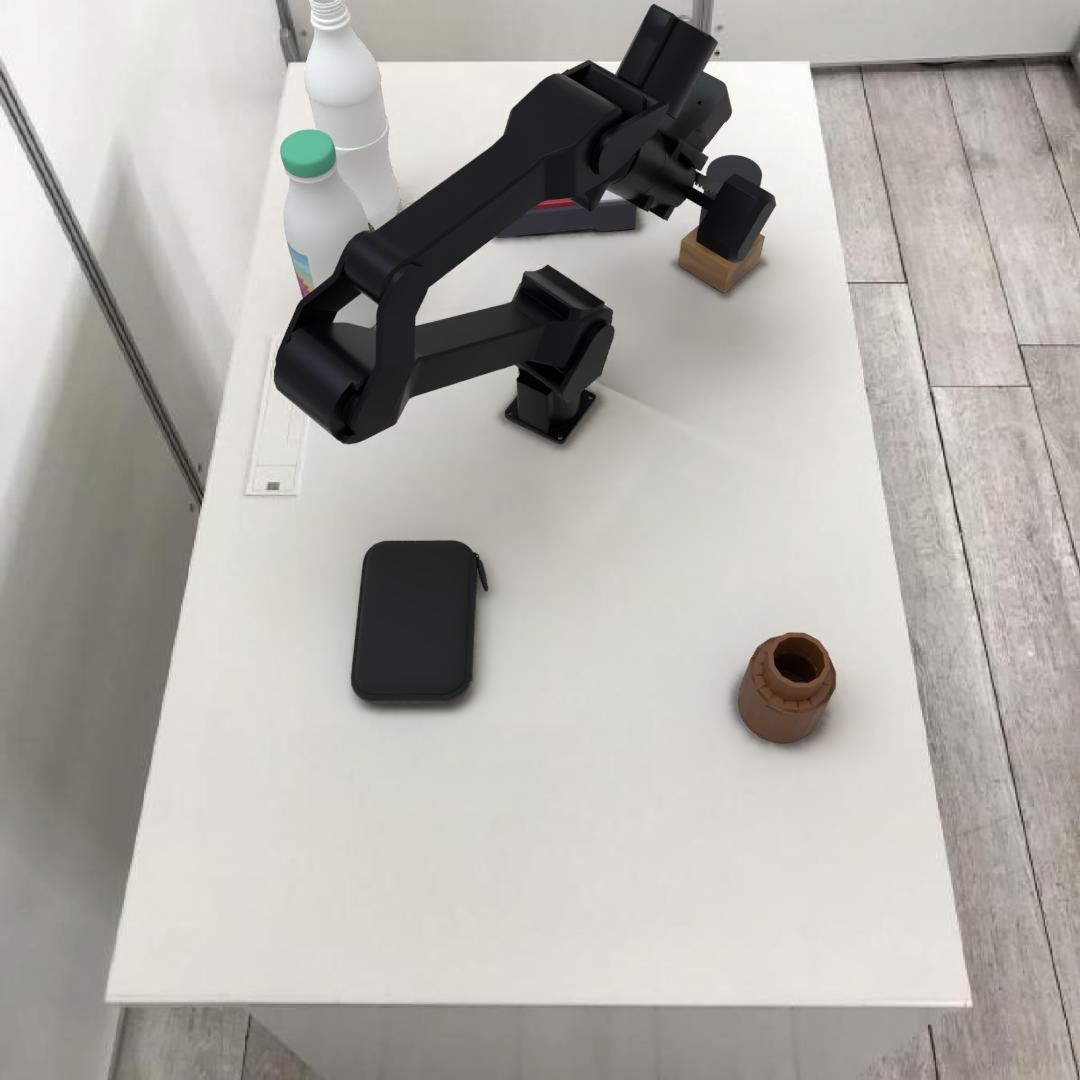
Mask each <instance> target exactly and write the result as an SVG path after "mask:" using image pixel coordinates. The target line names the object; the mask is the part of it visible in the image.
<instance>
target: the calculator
mask: <svg viewBox="0 0 1080 1080" xmlns="http://www.w3.org/2000/svg"><path fill="white" fill-rule="evenodd" d="M490 147H491V146H489V147H488V148H490ZM636 227H637V206H635V205H634V204H632V203H630V202H629V201H627V200H625V199H624V198H622V197H620V196H618V195H616V194H614V193H612V192H609V191H607V190H606V191H605V193H604V195H603V196H602V198H601V200H600V202H599V204H598V206H597V208H596V209H595V211H594V212H589V211H587V210H586V209H584V208H582V207H581V206H579V205H578V204H576V203H574V202H573V201H571V200H570V199H560V200H551V201H544V202H542V203H540V204H538V205H537V206H535V207H533V208H532V209H531V210H529V211H528V212H527V213H525V214H524V215H523V216H521V217H520V218H519V219H518V220H516V221H515V222H514V223H512V224H511V225H510V226H508V227H507V228H506V229H505V230H503V231H502V232H501V233H499V234H498V235H497V236H495V238H505V237H516V236H527V235H537V234H547V233H557V232H558V233H559V232H568V231H578V230H589V229H594V230H596V231H599V232H601V233H602V232H611V231H622V230H623V231H624V230H632V229H635V228H636Z"/></svg>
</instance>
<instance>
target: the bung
mask: <svg viewBox="0 0 1080 1080" xmlns="http://www.w3.org/2000/svg"><path fill="white" fill-rule="evenodd" d="M734 173H736V174H738V175H739V176H741V177H743V178H745V179H747V180H748V181H750V182H752V183H754V184H755V185H757V186H759V187H761V185H762V180H763V171H762V169H761V167H760V165H759V164H758V163H757V162H756V161H755V160H753V159H751V158H749V157H746V156H744V155H739V154H725V155H722V156H718V157H717V158H715V159H713V160H712V161H711V162H710V163H709V164H708V165H707V168H706V173H705V176H706V177H708V178H710V179H711V180H713V181H715V182H717V183H718V184H720V185H723V184H724V182H725V181H726V180H727V179H728V178H729V177H730V176H732V175H733V174H734ZM709 192H710V191H709ZM709 192H707V191H706V189H705V190H703V191H702V193H704V194H706V195H707V196H709V197H711V198H712V199H714V200H715V198H716V196H717V195H716V196H714V195H713V193H714V192H713V193H712V194H710V193H709ZM707 212H708V211H707V210H706V209H704V208H702V207H701V206H700V213H699V221H698V225H699V226H700V224H701V222H702V221H703V219H704V217H705V215H706V214H707Z"/></svg>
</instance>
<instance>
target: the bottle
mask: <svg viewBox="0 0 1080 1080" xmlns="http://www.w3.org/2000/svg"><path fill="white" fill-rule="evenodd" d="M836 688H837V671H836V669H835V665H834V663H833V661H832V659H831V657H830V654H829V652H828V650H827V649H826V648H825V646H824V645H823V643H822V642H821V640H819V639H817V638H815V637H814V636H812V635H810V634H808V633H806V632H797V631H796V632H795V631H794V632H793V631H792V632H791V631H790V632H789V631H788V632H786V633H783V634H782V635H781V634H780V635H778V636H773V637H769V638H767V639H766V640H765V641H764V642H762V643H760V644H759V645H758V646H757V647H756V648H755V650H754V652H753V654H752V655H751V657H750V659H749V661H748V664H747V667H746V670H745V673H744V675H743V679H742V680H741V684H740V687H739V689H738V697H737V705H738V711H739V714H740V717H741V719H742V721H743V722H744V724H745V725H746V727H748V729H749V730H750V731H751V732H753V733H754V734H755V735H757V736H758V737H760V738H762V739H764V740H765V741H769V742H772V743H778V744H789V743H793V742H796V741H799V740H801V739H804V738H805V737H806V736H808V735H809V734H810V733H811V732H812V731H813V730H814V729H815V728H816V726H817V724H818V722H819V721H820V718H821V716H822V714H823V713H824V711H825V709H826V707H827V706H828V704H829V703H830V700H831V698H832V696H833V694H834V692H835V691H836Z"/></svg>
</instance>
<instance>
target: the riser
mask: <svg viewBox="0 0 1080 1080" xmlns="http://www.w3.org/2000/svg"><path fill="white" fill-rule="evenodd" d="M698 228H699V224H698V225H697V226H695V228H693V229H692V230H690V232H689V233H687V234H686V235H685V236H684V237H683V238H681V240H680V246H679V255H678V263H677V266H678V267H680V268H682V269H683V270H685V271H687V272H688V273H690V274H691V275H693V276H695V277H696V278H698V279H700V280H701V281H703V282H705V283H706V284H708V285H709V286H711V287H713V288H714V289H716V290H717V291H719V292H721V293H722V294H726V293H727V292H728V291H729V290H730V289H731V288H732V287H733V286H734V285H735V284H737V283H738V282H739V281H740V280H741V279H742V278H743V277H745V276H746V275H747V274H748V273H749V272H750V271H751V270H752V269H754V268H755V267H756V266H757V265H758V264H759V263H760V262H761V257H762V254H763V253H762V252H763V247H764V243H765V239H766V236H765V235H764V234H762V233H760V234H759V235H758V237H757V239H756V240H755V242H754V244H753V246H752V247H751V249H750V251H749V252H748V254H747V256H746V257H745V259H744V261H741V262H738V263H732V262H730V261H728V260H726V259H724V258H723V257H721V256H719V255H718V254H716V253H714V252H713V251H711V250H709V249H708V248H706V247H704V246H703V245H701V244H699V243H698V242H696V236H697V229H698Z"/></svg>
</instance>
